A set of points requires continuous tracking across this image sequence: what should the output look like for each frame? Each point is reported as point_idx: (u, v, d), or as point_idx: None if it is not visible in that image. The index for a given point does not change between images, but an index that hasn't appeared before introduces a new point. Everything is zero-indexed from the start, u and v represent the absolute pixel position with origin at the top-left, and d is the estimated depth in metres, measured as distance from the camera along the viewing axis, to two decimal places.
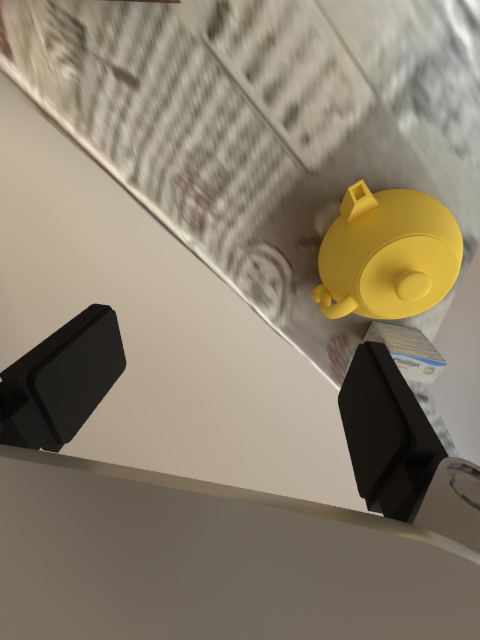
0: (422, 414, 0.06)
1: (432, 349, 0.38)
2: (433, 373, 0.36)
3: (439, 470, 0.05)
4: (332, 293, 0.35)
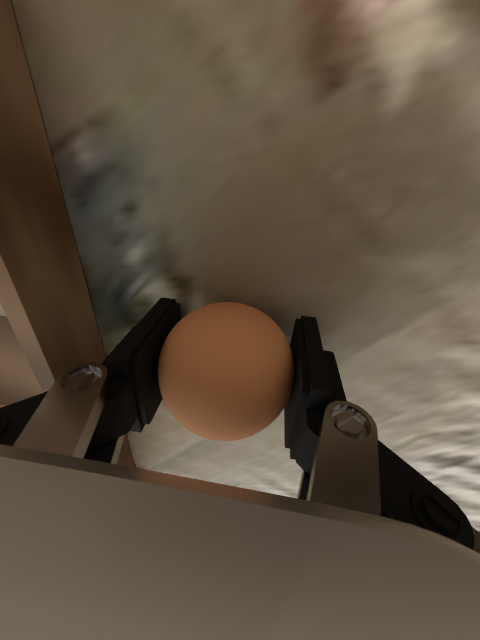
0: (325, 369, 0.07)
1: None
2: None
3: (326, 409, 0.06)
4: None
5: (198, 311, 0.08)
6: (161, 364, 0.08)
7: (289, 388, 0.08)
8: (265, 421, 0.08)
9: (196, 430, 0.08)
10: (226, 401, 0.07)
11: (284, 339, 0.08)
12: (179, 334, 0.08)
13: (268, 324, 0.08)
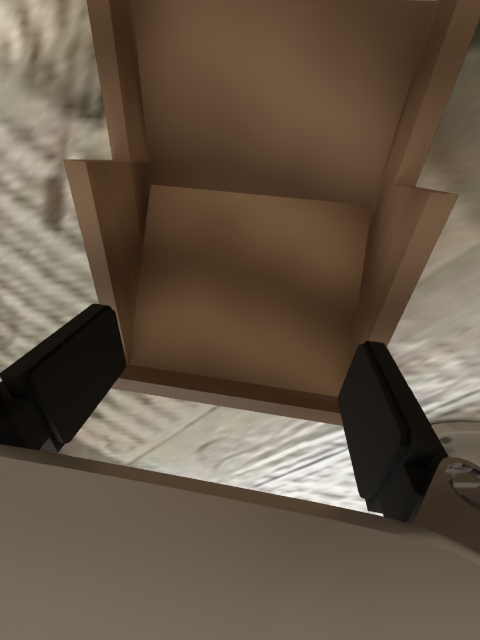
0: (422, 414, 0.06)
1: None
2: None
3: (439, 470, 0.05)
4: None
5: None
6: None
7: None
8: None
9: None
10: None
11: None
12: None
13: None
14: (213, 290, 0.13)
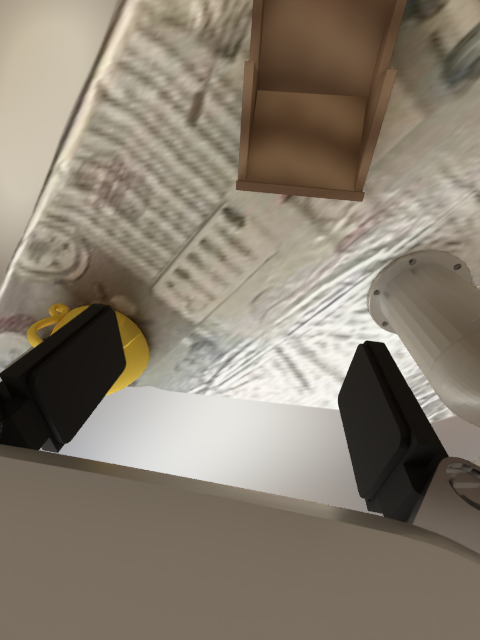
0: (422, 414, 0.06)
1: None
2: None
3: (439, 470, 0.05)
4: (56, 326, 0.41)
5: None
6: None
7: None
8: None
9: None
10: None
11: None
12: None
13: None
14: (289, 141, 0.26)
